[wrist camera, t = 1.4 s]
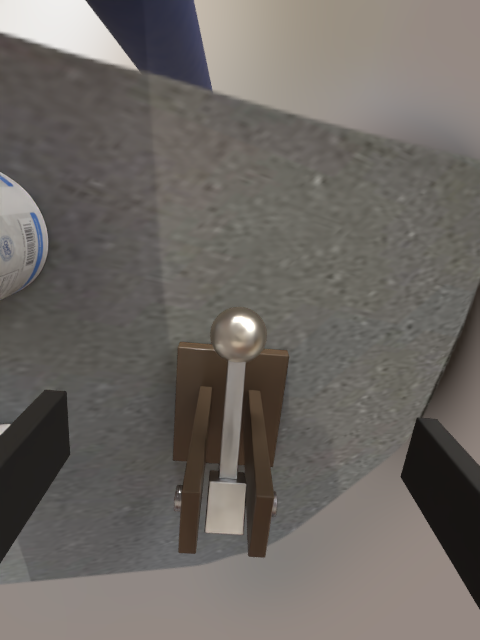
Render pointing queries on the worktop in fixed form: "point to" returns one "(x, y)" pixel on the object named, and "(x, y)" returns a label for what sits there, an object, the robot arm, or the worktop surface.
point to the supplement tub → (19, 238)
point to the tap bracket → (206, 432)
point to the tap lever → (232, 417)
